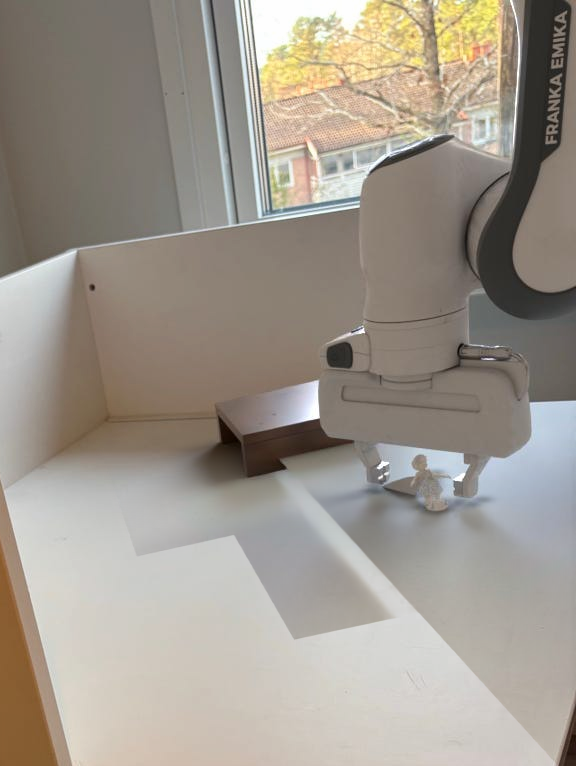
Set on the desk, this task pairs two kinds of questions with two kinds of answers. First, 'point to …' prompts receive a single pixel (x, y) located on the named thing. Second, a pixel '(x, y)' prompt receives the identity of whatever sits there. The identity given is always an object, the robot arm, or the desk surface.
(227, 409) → the display shelf
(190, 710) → the desk surface
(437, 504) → the fairy figurine
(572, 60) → the robot arm
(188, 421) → the desk surface
